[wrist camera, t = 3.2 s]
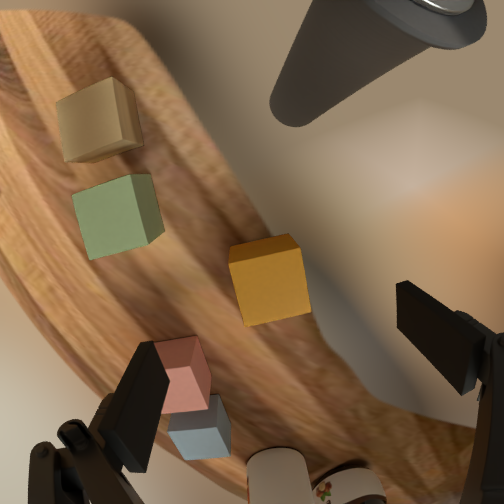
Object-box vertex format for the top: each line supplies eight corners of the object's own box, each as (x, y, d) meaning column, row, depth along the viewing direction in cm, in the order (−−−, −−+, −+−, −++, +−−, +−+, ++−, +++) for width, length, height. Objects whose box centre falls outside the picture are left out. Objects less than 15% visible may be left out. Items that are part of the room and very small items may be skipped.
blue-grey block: (218, 393, 29) (216, 427, 24) (231, 424, 30) (230, 456, 26) (174, 399, 29) (166, 431, 24) (189, 428, 30) (184, 460, 26)
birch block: (134, 92, 22) (112, 75, 17) (144, 145, 23) (122, 139, 18) (84, 112, 22) (55, 102, 17) (93, 163, 23) (64, 162, 18)
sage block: (150, 173, 24) (130, 174, 19) (165, 231, 25) (148, 244, 20) (99, 190, 24) (71, 195, 19) (113, 245, 25) (89, 260, 20)
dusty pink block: (197, 335, 27) (190, 365, 22) (212, 376, 29) (208, 409, 24) (148, 343, 27) (134, 372, 22) (166, 382, 29) (156, 414, 24)
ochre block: (288, 233, 25) (300, 247, 20) (298, 287, 27) (311, 312, 22) (229, 246, 25) (227, 263, 20) (243, 300, 27) (244, 327, 22)
